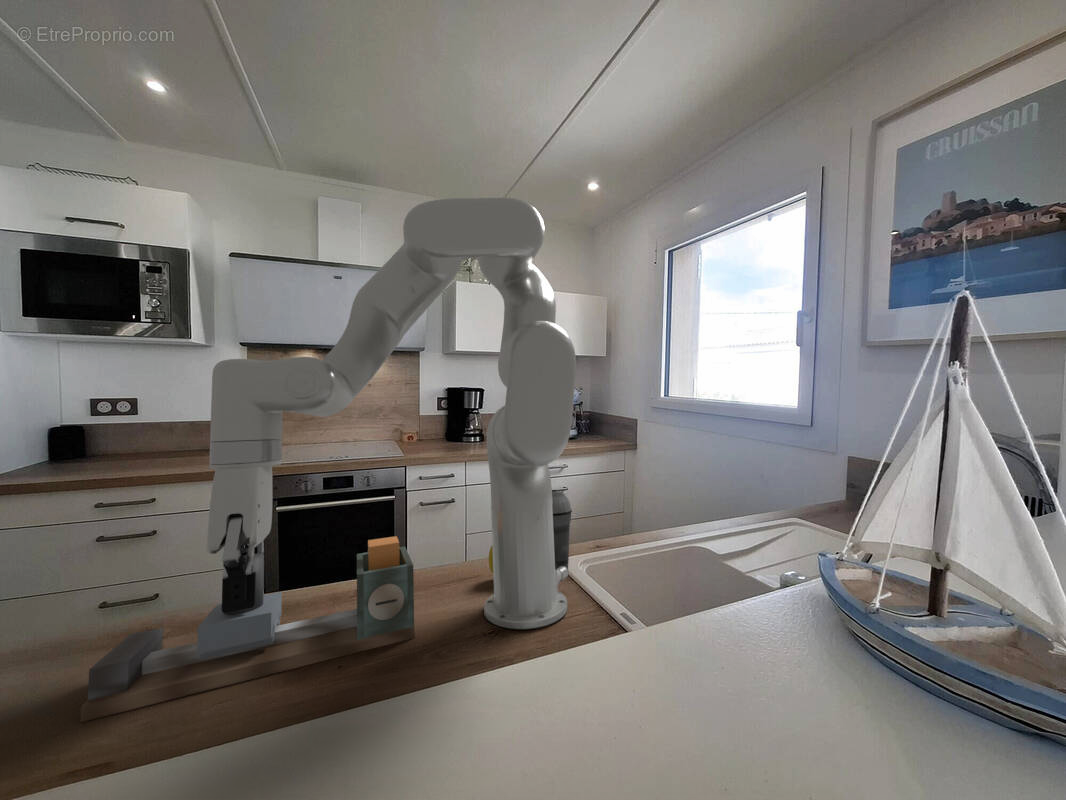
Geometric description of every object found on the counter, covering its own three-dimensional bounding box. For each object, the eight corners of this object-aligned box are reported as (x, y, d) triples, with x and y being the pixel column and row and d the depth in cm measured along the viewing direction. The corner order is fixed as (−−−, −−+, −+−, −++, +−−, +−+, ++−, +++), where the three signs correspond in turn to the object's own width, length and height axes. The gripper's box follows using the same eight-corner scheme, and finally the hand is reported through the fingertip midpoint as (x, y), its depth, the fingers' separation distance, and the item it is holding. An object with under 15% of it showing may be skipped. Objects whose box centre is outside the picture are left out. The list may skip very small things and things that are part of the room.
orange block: (396, 563, 58) (396, 536, 58) (399, 571, 54) (399, 542, 55) (368, 568, 56) (368, 540, 56) (368, 577, 53) (368, 547, 53)
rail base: (405, 608, 60) (405, 546, 61) (414, 639, 51) (413, 565, 52) (133, 668, 47) (137, 588, 48) (77, 725, 38) (83, 624, 39)
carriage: (281, 622, 52) (282, 547, 53) (270, 647, 46) (272, 561, 47) (217, 635, 50) (219, 555, 50) (196, 663, 43) (199, 572, 44)
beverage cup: (578, 579, 69) (573, 467, 71) (538, 582, 69) (533, 469, 71) (571, 565, 77) (566, 464, 78) (535, 568, 76) (530, 466, 78)
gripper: (230, 454, 56) (227, 585, 54) (183, 460, 41) (177, 641, 39) (291, 451, 59) (289, 574, 57) (268, 455, 44) (265, 623, 42)
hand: (244, 600), depth 48 cm, fingers closed on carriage, 4 cm apart
